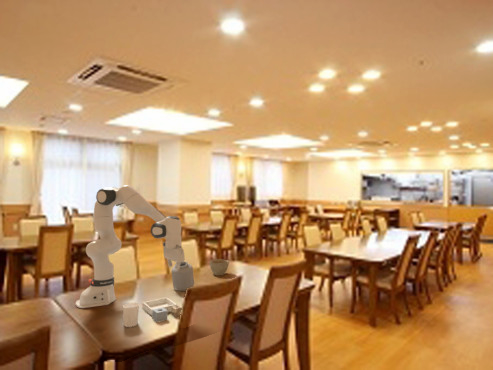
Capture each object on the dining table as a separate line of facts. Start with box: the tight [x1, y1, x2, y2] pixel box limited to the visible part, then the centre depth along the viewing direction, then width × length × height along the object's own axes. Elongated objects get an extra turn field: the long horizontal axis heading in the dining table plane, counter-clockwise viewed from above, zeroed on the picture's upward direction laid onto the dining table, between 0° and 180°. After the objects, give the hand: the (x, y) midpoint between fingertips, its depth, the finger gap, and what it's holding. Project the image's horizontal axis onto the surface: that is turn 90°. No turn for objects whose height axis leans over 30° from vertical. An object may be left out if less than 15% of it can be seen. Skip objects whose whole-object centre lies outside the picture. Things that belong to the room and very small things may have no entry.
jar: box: [170, 261, 195, 292], centre depth 225 cm, size 19×15×25 cm
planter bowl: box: [209, 258, 230, 276], centre depth 268 cm, size 16×16×11 cm
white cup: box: [122, 302, 140, 328], centre depth 166 cm, size 8×8×10 cm
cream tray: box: [142, 297, 178, 317], centre depth 187 cm, size 15×15×4 cm
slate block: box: [151, 307, 168, 323], centre depth 173 cm, size 6×6×5 cm
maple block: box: [170, 304, 183, 318], centre depth 179 cm, size 4×4×5 cm
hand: (174, 268), depth 186 cm, fingers open, 8 cm apart
